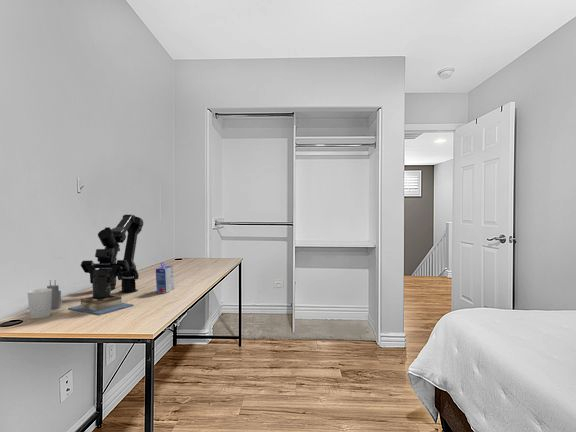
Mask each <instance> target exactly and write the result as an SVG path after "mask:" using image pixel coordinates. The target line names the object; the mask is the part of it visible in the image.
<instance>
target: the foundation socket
mask: <svg viewBox="0 0 576 432" xmlns="http://www.w3.org/2000/svg"><path fill="white" fill-rule="evenodd" d="M122 296H123V295H115V294H111V296H110V297H109V298H106V299H93V295H92V296H89V297H84V298H80V305H81V308H84V309H90V310H96V311H100V310H104V309H108V308H111V307H115V306H119V305H122V303H123V302H122V300H123V299H122Z"/></svg>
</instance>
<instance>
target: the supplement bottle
mask: <svg viewBox="0 0 576 432" xmlns="http://www.w3.org/2000/svg"><path fill="white" fill-rule="evenodd" d="M107 273H108V272H107V269H99V268H96V270H95V276H94V277H93V279H92V296H93V299H106V298H109V297H110V296H111V295H112V293H111V291H112V290H111V286H110V283H108V279H109V275H107Z"/></svg>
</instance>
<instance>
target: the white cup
mask: <svg viewBox="0 0 576 432" xmlns="http://www.w3.org/2000/svg"><path fill="white" fill-rule="evenodd" d="M27 300H28V302H27V303H28V310H29V318H30V319H42V318H47V317H50V316H51V315H52V310H51V303H52V289H49V288H47V287H46V288H36V289H31V290H28V291H27Z"/></svg>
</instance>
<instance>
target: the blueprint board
mask: <svg viewBox="0 0 576 432" xmlns="http://www.w3.org/2000/svg"><path fill="white" fill-rule="evenodd" d="M134 306H135V304H133V303H125V302H122V305H119V306H115V307H111V308H108V309H104V310H100V311H96V310H90V309H84V308H81V304H80V305H75V306H72V307H68V308H67V310H70V311H76V312H80V313H88V314H93V315H97V316H102V315H106V314H108V313H111V312H116V311H119V310H123V309H127V308H132V307H134Z"/></svg>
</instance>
